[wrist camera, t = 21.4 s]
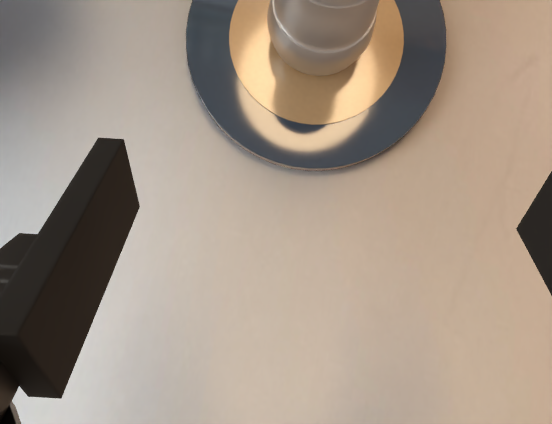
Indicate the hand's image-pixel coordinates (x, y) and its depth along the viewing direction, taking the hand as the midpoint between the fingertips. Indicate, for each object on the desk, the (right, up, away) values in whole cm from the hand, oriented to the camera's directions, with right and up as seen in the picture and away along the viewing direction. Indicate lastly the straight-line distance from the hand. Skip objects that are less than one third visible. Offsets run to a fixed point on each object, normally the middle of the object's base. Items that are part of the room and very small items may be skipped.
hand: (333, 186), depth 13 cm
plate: (+1, +11, +17) cm, 20 cm away
